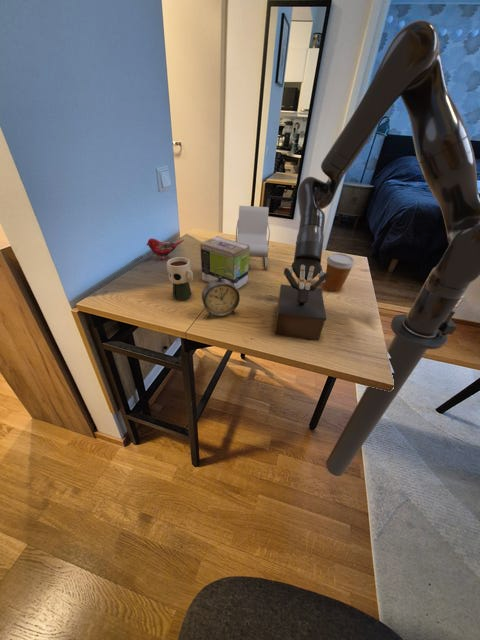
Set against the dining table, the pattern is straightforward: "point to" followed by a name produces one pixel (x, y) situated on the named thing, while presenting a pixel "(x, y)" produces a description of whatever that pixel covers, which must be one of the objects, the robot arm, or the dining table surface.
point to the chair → (254, 230)
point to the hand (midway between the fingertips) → (302, 303)
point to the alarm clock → (220, 296)
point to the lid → (293, 308)
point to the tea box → (225, 260)
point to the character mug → (180, 277)
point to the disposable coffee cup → (337, 271)
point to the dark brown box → (298, 326)
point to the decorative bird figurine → (162, 247)
